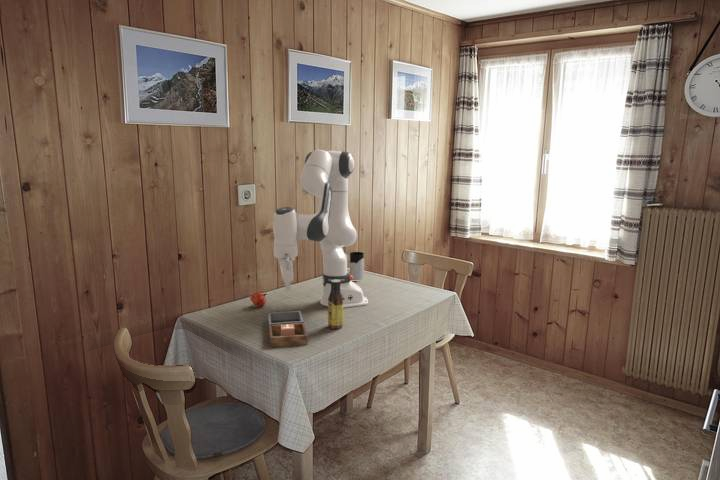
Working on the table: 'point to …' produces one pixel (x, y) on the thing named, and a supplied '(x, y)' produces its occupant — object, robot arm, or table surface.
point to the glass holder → (356, 265)
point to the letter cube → (287, 330)
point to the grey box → (285, 317)
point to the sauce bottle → (335, 305)
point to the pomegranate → (258, 299)
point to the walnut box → (288, 339)
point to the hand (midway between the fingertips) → (287, 287)
